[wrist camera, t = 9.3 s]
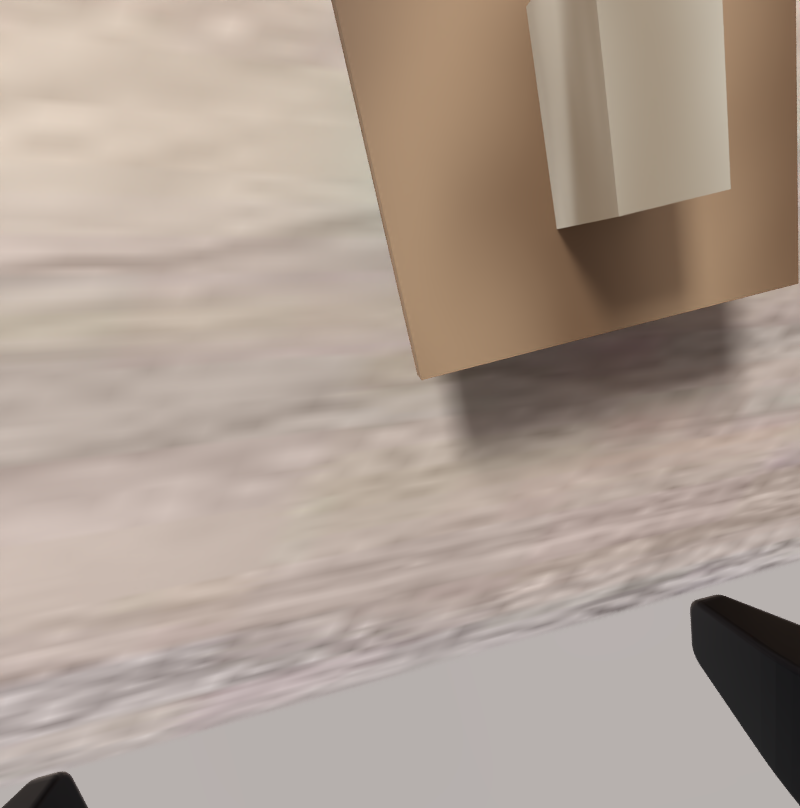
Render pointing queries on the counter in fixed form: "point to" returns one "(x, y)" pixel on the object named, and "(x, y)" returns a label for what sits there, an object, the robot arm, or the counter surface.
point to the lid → (574, 162)
